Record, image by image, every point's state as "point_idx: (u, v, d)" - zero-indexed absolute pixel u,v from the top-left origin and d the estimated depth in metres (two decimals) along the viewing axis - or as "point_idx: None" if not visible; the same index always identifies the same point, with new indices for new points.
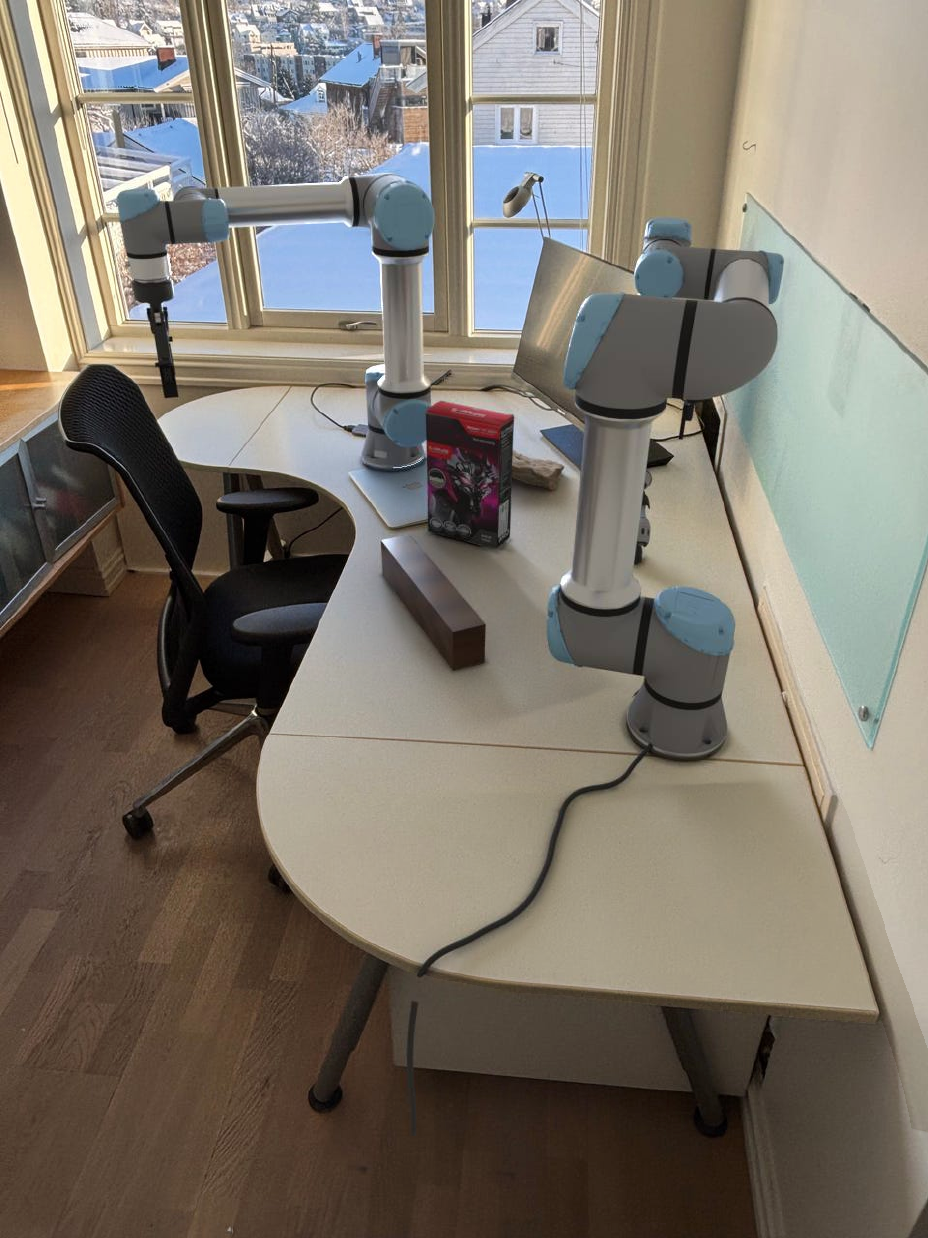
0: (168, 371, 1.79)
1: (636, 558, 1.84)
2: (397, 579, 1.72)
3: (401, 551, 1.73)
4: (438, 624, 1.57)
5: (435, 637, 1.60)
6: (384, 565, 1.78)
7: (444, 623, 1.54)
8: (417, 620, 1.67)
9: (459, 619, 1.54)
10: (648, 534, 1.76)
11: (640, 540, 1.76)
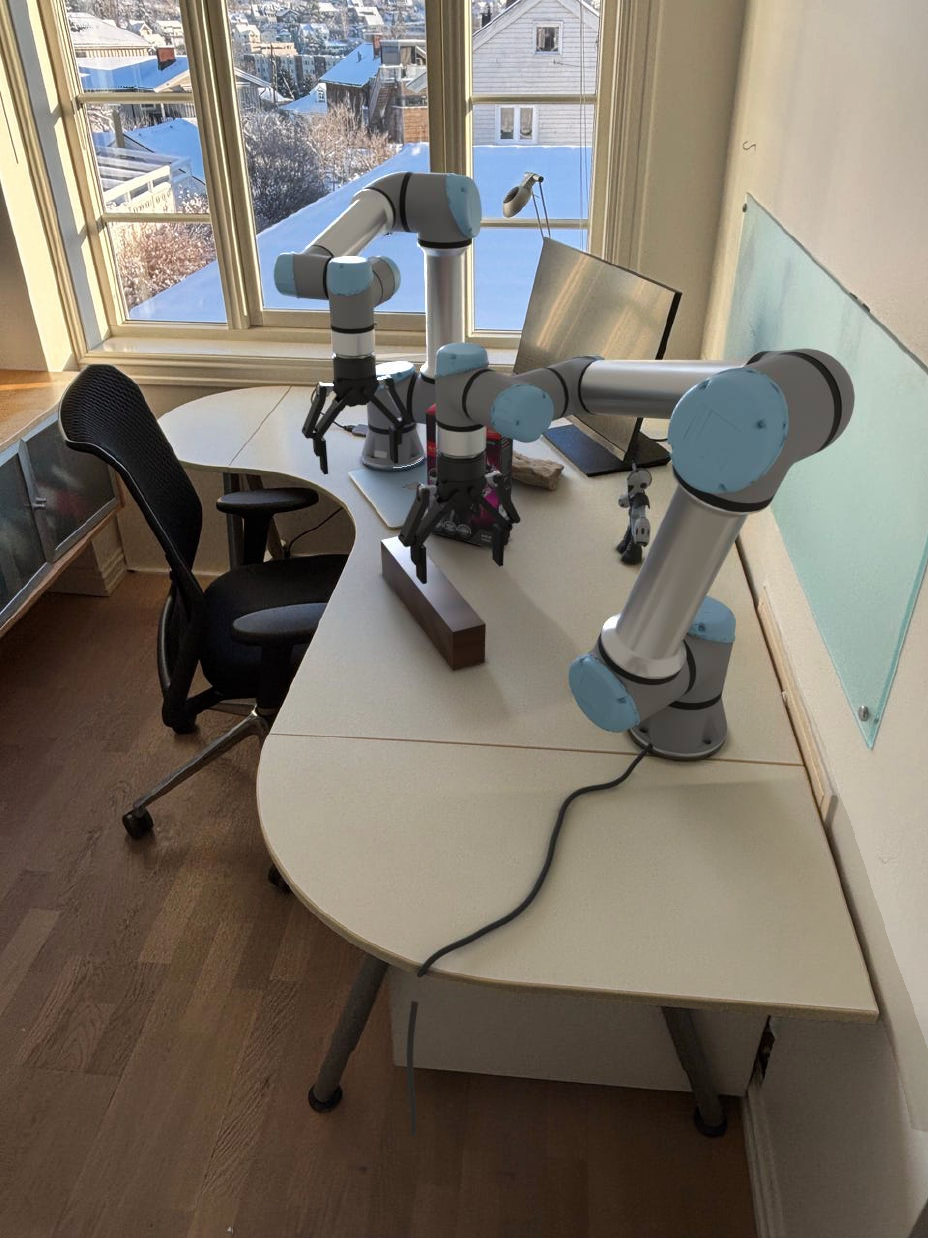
0: (314, 444, 1.66)
1: (636, 558, 1.84)
2: (397, 579, 1.72)
3: (401, 551, 1.73)
4: (438, 624, 1.57)
5: (435, 637, 1.60)
6: (384, 565, 1.78)
7: (444, 623, 1.54)
8: (417, 620, 1.67)
9: (459, 619, 1.54)
10: (648, 534, 1.76)
11: (640, 540, 1.76)
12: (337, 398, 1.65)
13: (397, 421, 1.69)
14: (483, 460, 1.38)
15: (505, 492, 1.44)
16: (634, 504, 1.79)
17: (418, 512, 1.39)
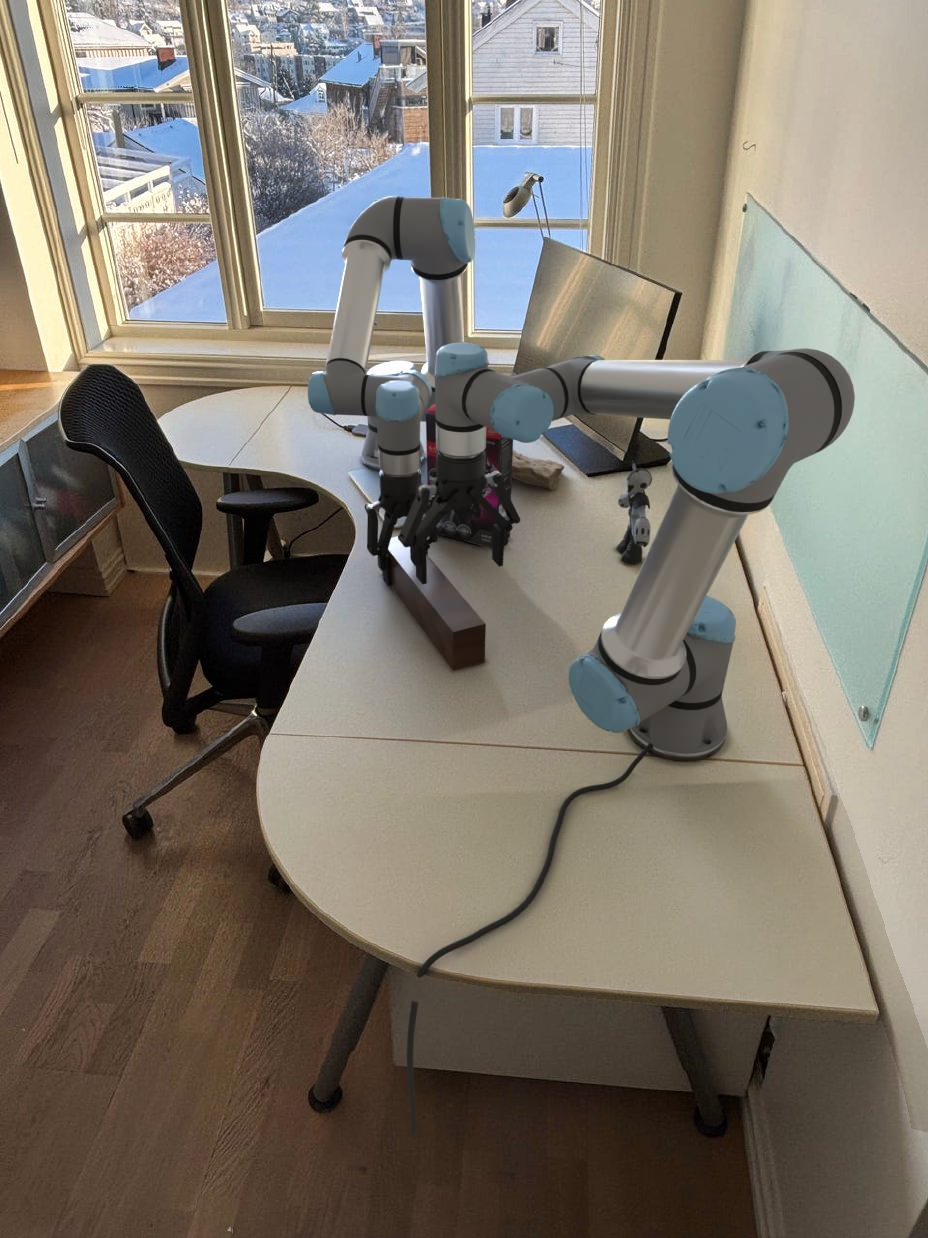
0: (379, 559, 1.74)
1: (636, 558, 1.84)
2: (397, 579, 1.72)
3: (401, 551, 1.73)
4: (438, 624, 1.57)
5: (435, 637, 1.60)
6: None
7: (444, 623, 1.54)
8: (417, 620, 1.67)
9: (459, 619, 1.54)
10: (648, 534, 1.76)
11: (640, 540, 1.76)
12: None
13: None
14: (483, 460, 1.38)
15: (505, 492, 1.44)
16: (634, 504, 1.79)
17: (418, 513, 1.39)
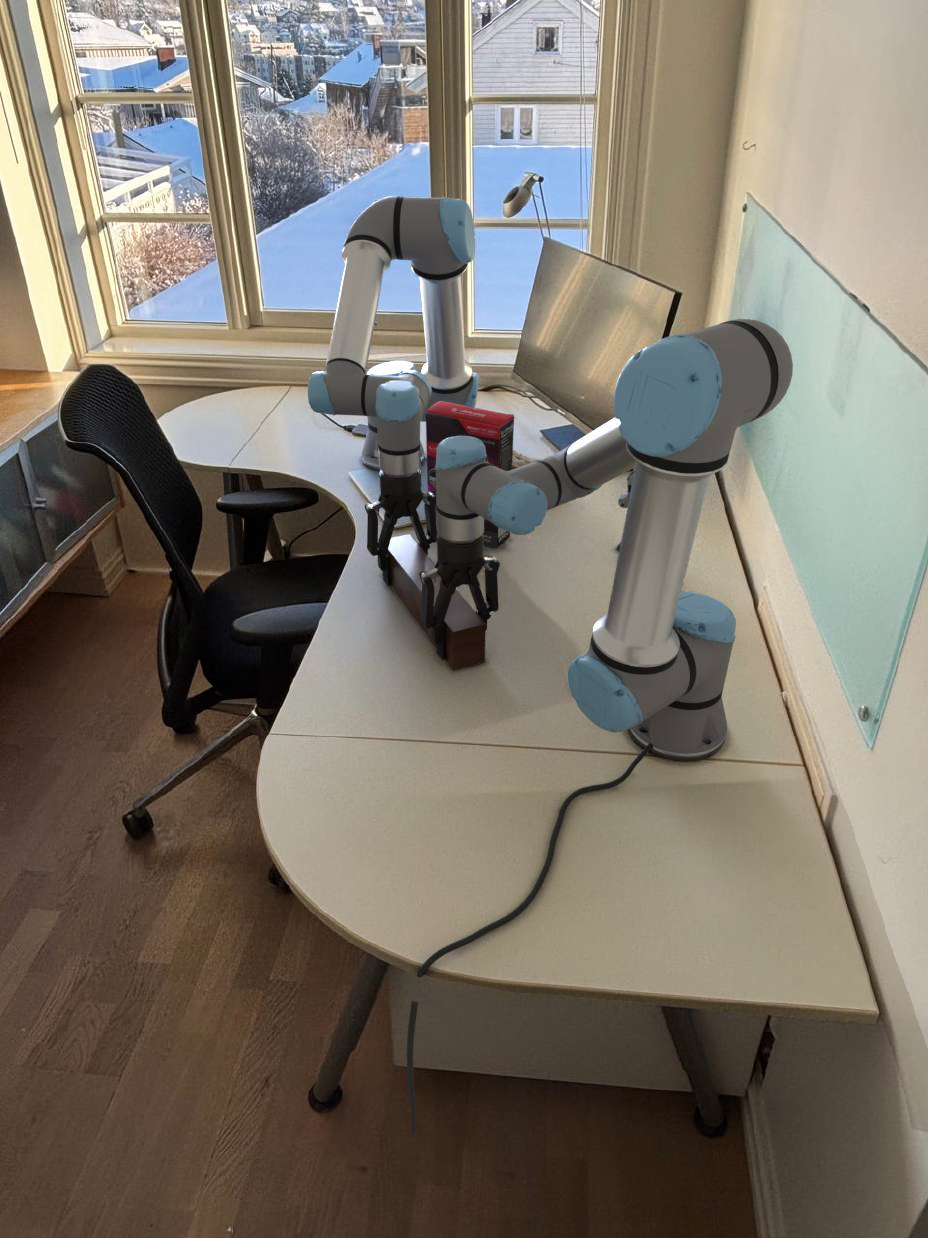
0: (379, 559, 1.74)
1: None
2: (397, 579, 1.72)
3: (401, 551, 1.73)
4: None
5: None
6: None
7: (444, 623, 1.54)
8: (417, 620, 1.67)
9: (459, 619, 1.54)
10: None
11: None
12: None
13: (425, 540, 1.75)
14: (481, 543, 1.45)
15: (495, 579, 1.53)
16: None
17: (428, 598, 1.49)
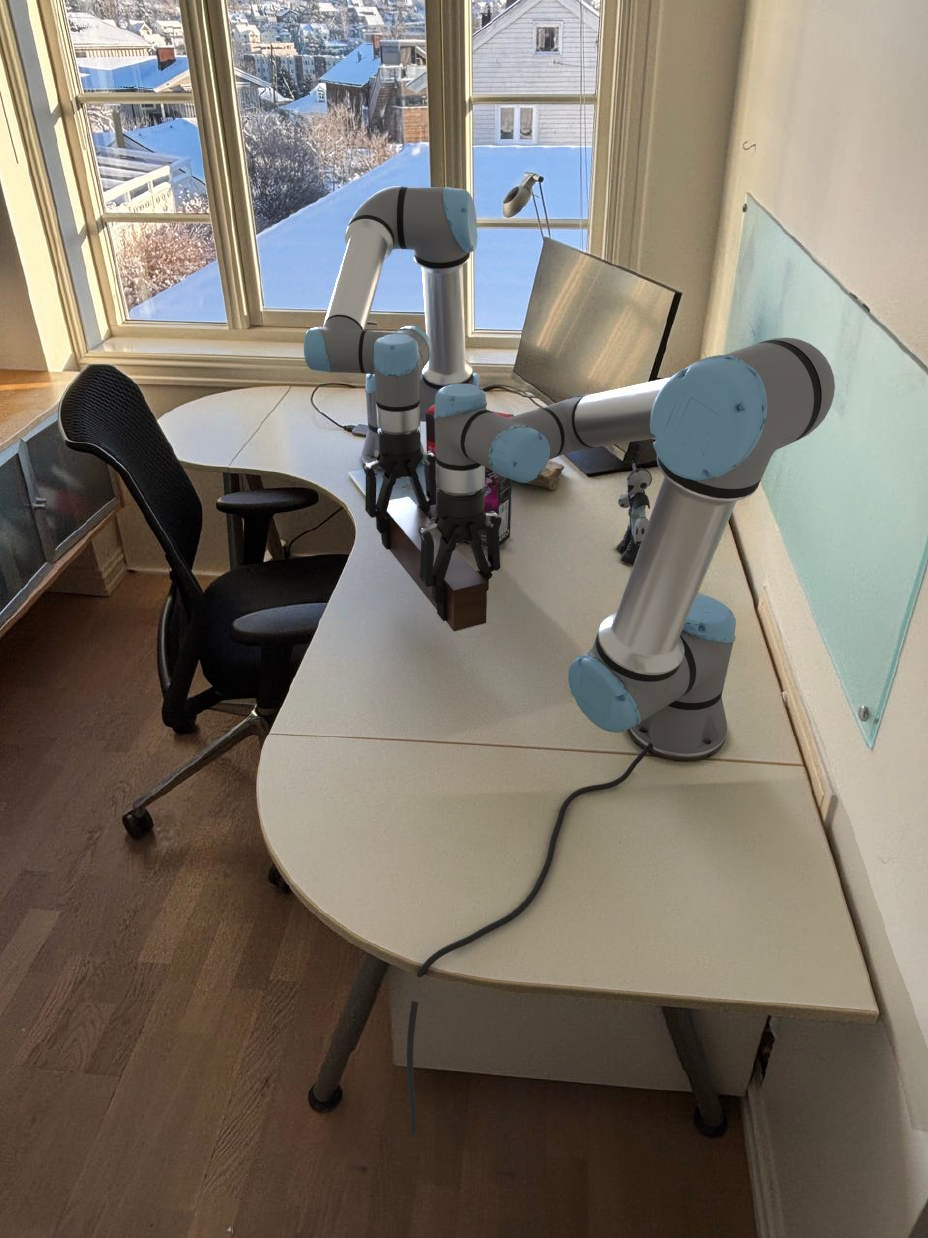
0: (378, 521, 1.69)
1: None
2: (396, 541, 1.68)
3: (400, 513, 1.68)
4: None
5: None
6: None
7: (444, 582, 1.49)
8: (417, 582, 1.62)
9: (460, 578, 1.50)
10: None
11: (640, 540, 1.76)
12: None
13: (425, 502, 1.70)
14: (482, 497, 1.41)
15: (497, 536, 1.48)
16: (634, 504, 1.79)
17: (428, 554, 1.44)
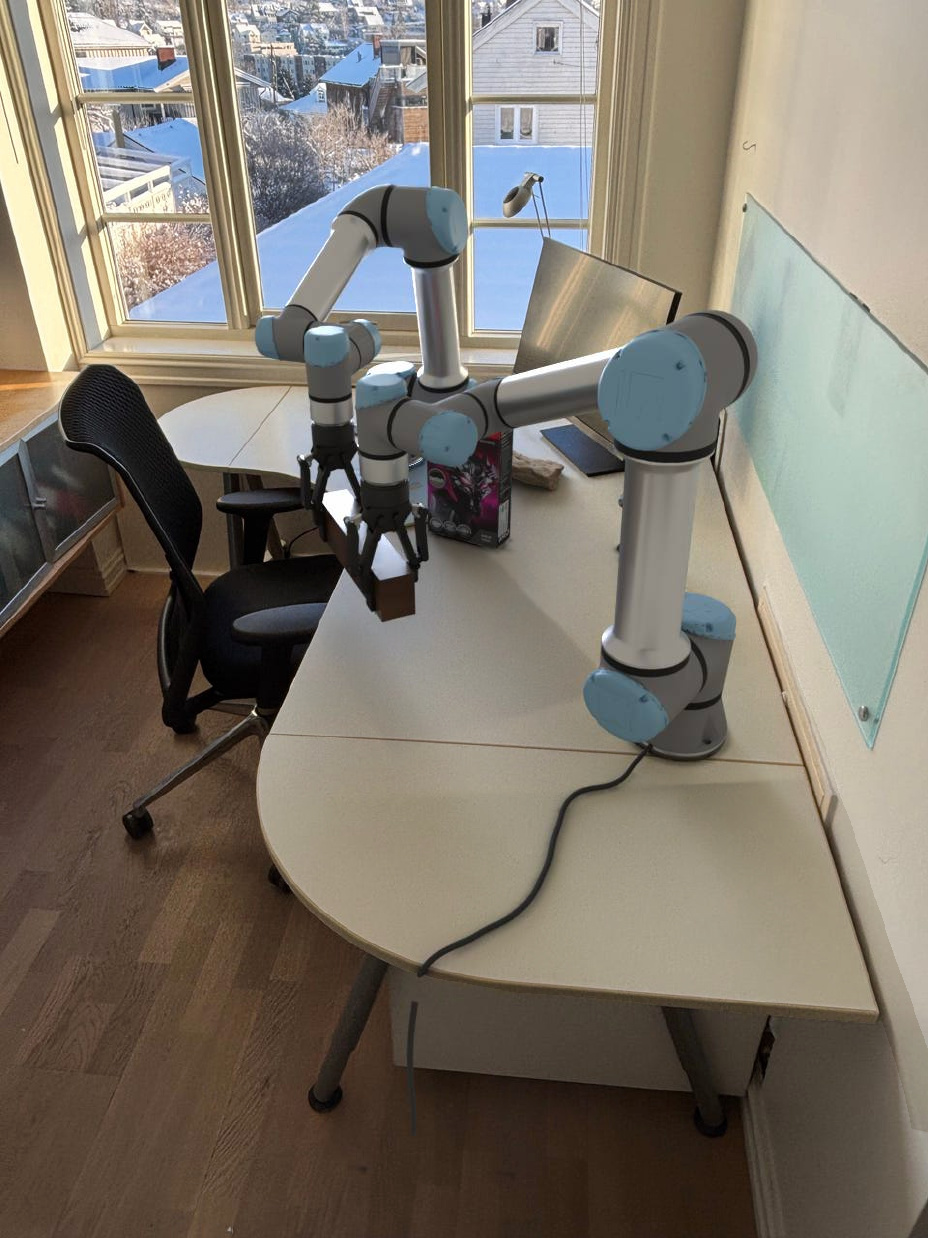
0: (313, 514, 1.69)
1: None
2: (332, 533, 1.67)
3: (336, 505, 1.68)
4: None
5: None
6: None
7: (372, 572, 1.49)
8: (350, 574, 1.62)
9: (387, 568, 1.49)
10: None
11: None
12: None
13: None
14: (405, 487, 1.41)
15: (424, 527, 1.48)
16: None
17: (353, 544, 1.44)
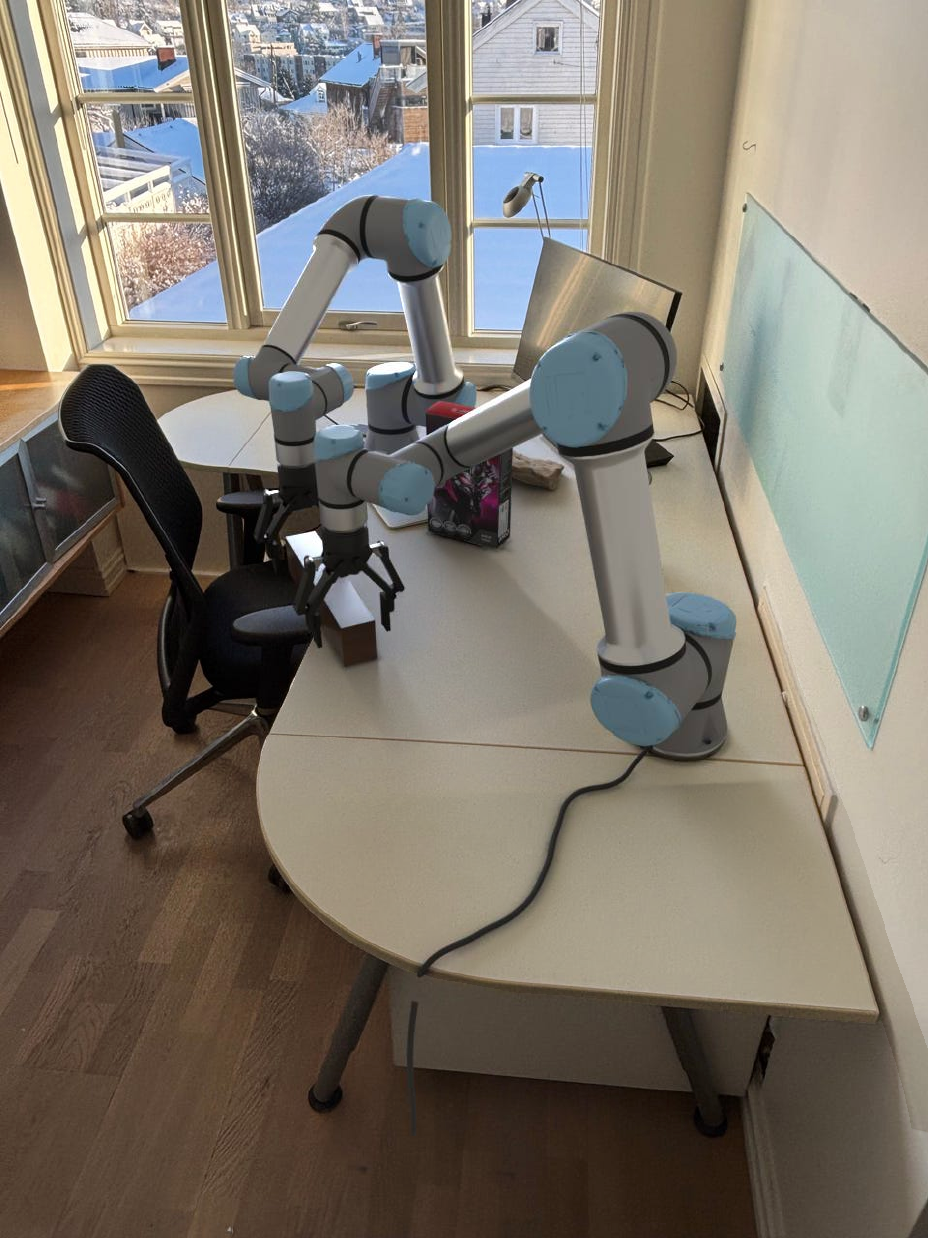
0: (266, 547, 1.72)
1: None
2: (299, 575, 1.73)
3: (304, 548, 1.74)
4: (330, 620, 1.57)
5: (329, 633, 1.60)
6: (289, 562, 1.79)
7: (334, 619, 1.54)
8: None
9: (350, 616, 1.55)
10: None
11: None
12: (283, 502, 1.70)
13: None
14: (364, 533, 1.45)
15: (390, 562, 1.52)
16: None
17: (307, 584, 1.48)
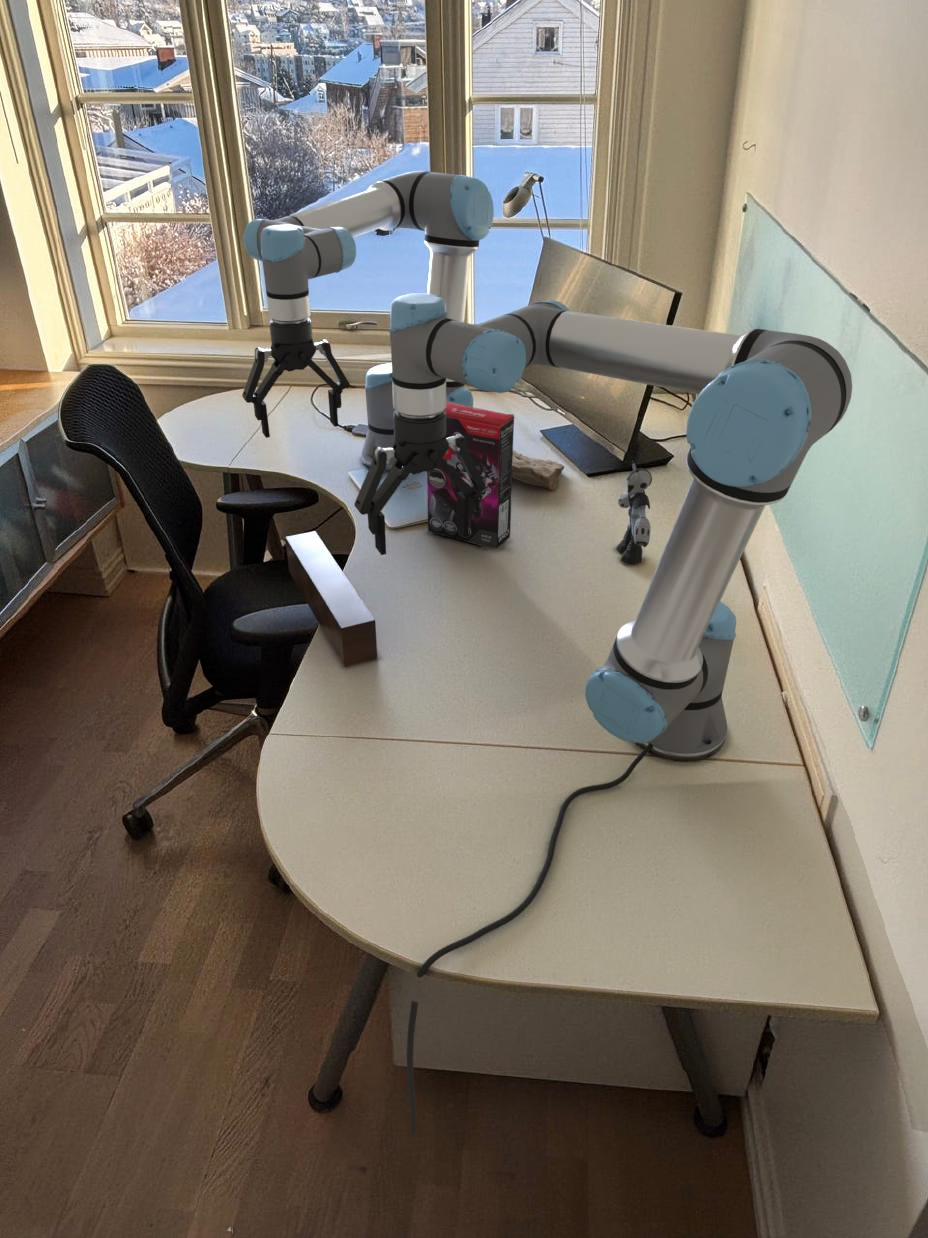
0: (255, 408, 1.72)
1: (636, 558, 1.84)
2: (299, 575, 1.73)
3: (304, 548, 1.74)
4: (330, 620, 1.57)
5: (329, 633, 1.60)
6: (289, 562, 1.79)
7: (334, 619, 1.54)
8: (316, 617, 1.68)
9: (350, 616, 1.55)
10: (648, 534, 1.76)
11: (640, 540, 1.76)
12: (276, 363, 1.71)
13: (335, 385, 1.75)
14: (443, 421, 1.29)
15: (468, 457, 1.36)
16: (634, 504, 1.79)
17: (375, 477, 1.31)
